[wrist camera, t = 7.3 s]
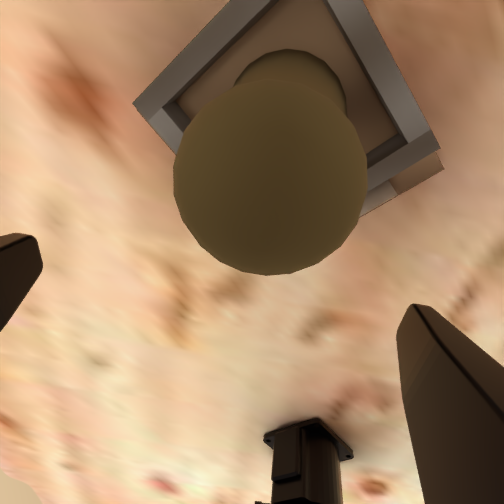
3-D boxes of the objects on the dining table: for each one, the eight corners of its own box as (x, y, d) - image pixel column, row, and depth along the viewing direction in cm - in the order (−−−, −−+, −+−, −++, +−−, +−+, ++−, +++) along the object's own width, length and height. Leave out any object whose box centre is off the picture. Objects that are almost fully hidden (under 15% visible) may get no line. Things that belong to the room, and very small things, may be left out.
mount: (439, 164, 18) (459, 182, 16) (273, 260, 23) (270, 285, 20) (313, -68, 14) (315, -89, 12) (142, 107, 19) (119, 117, 16)
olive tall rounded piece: (330, 25, 15) (371, 5, 6) (358, 156, 18) (416, 285, 8) (207, 77, 17) (86, 127, 7) (251, 189, 19) (201, 325, 10)
